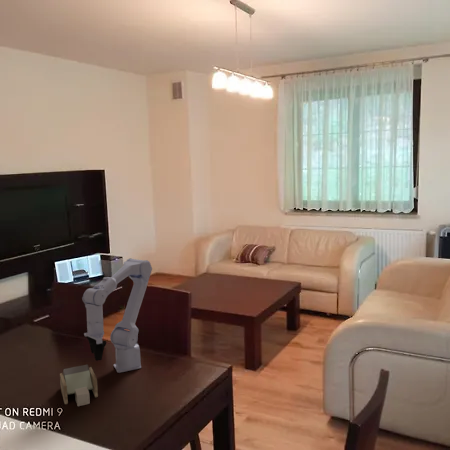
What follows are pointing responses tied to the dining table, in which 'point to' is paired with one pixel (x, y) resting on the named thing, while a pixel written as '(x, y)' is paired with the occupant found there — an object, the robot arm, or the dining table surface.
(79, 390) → the plain off-white cube
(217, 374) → the dining table surface
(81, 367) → the pale grey slab
